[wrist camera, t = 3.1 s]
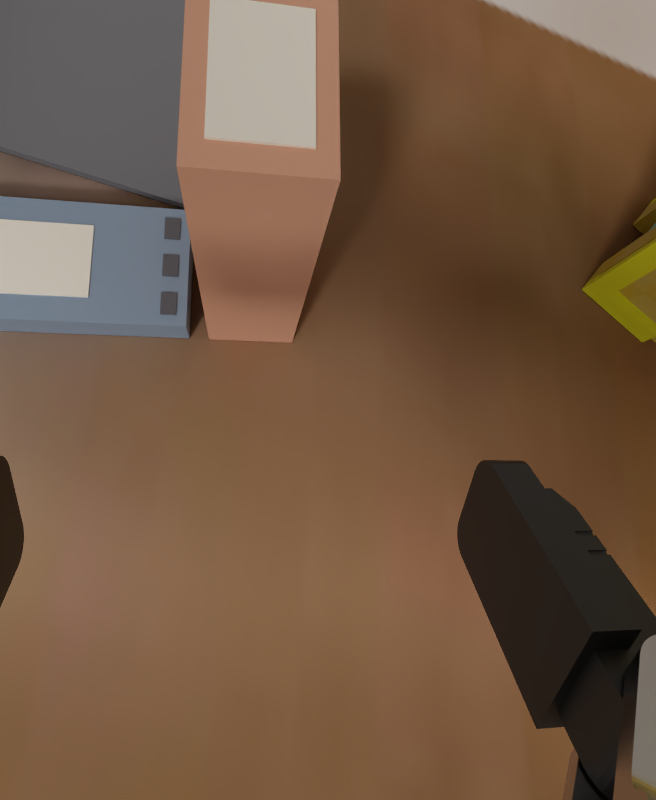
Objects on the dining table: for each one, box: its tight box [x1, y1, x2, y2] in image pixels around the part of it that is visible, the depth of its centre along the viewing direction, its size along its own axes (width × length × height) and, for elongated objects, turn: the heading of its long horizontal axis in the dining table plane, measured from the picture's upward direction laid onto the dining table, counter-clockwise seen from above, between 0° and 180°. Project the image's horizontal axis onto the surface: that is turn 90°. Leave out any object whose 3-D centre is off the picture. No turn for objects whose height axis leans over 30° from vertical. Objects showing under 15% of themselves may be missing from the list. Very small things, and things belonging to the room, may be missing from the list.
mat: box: [0, 0, 185, 209], centre depth 25 cm, size 12×12×1 cm
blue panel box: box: [0, 196, 193, 338], centre depth 22 cm, size 12×5×2 cm, turn 90°
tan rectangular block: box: [176, 0, 341, 343], centre depth 18 cm, size 4×5×12 cm
